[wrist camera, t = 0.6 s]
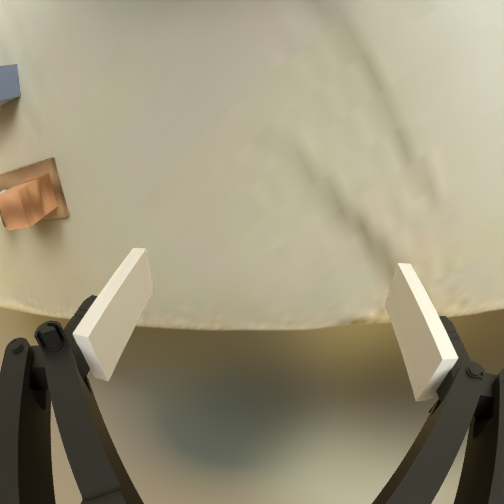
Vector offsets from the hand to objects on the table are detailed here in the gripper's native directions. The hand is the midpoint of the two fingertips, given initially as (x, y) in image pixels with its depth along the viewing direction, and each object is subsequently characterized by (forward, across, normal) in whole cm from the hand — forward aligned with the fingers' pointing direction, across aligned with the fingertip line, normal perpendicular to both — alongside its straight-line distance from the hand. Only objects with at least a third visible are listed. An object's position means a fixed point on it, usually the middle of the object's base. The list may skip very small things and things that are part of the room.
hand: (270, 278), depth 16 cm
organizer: (+26, -43, -5) cm, 50 cm away
